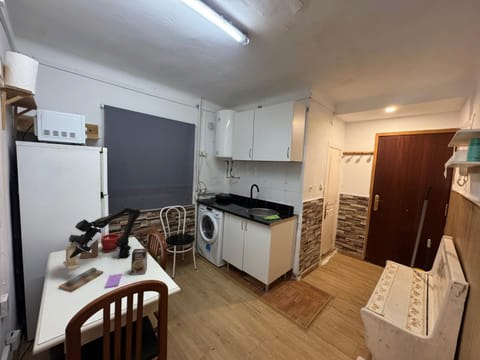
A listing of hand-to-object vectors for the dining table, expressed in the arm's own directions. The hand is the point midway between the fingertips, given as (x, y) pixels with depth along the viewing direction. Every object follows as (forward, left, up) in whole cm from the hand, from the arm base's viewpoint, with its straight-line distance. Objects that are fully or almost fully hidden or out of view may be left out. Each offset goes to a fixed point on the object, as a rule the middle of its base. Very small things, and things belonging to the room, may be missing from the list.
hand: (68, 257), depth 122 cm
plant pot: (-6, -39, -14) cm, 42 cm away
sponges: (-29, +6, -14) cm, 33 cm away
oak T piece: (-1, -1, -7) cm, 7 cm away
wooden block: (+3, -26, -14) cm, 29 cm away
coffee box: (-41, -4, -14) cm, 44 cm away
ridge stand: (-10, +4, -13) cm, 18 cm away
